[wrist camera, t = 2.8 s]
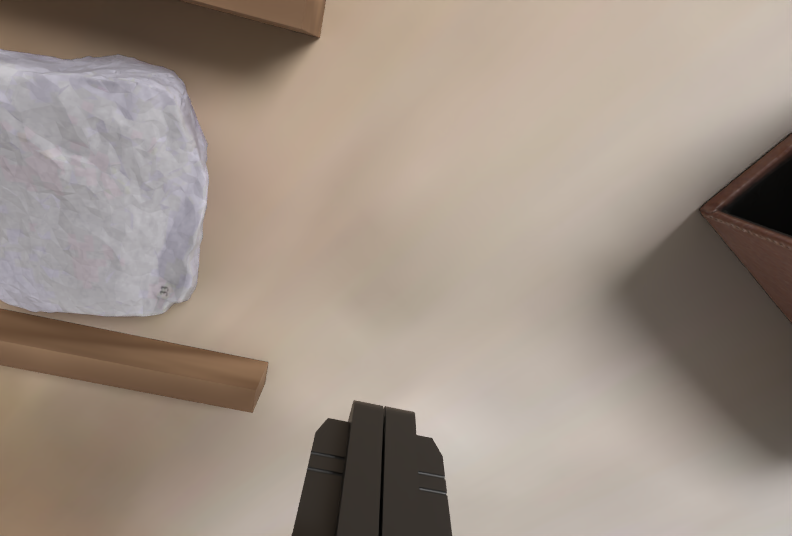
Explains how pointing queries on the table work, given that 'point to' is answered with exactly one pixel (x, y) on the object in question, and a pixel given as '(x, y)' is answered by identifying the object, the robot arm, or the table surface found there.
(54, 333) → the pair of wooden bars
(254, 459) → the table surface
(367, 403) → the robot arm
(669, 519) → the table surface
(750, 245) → the letter holder
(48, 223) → the stone block
